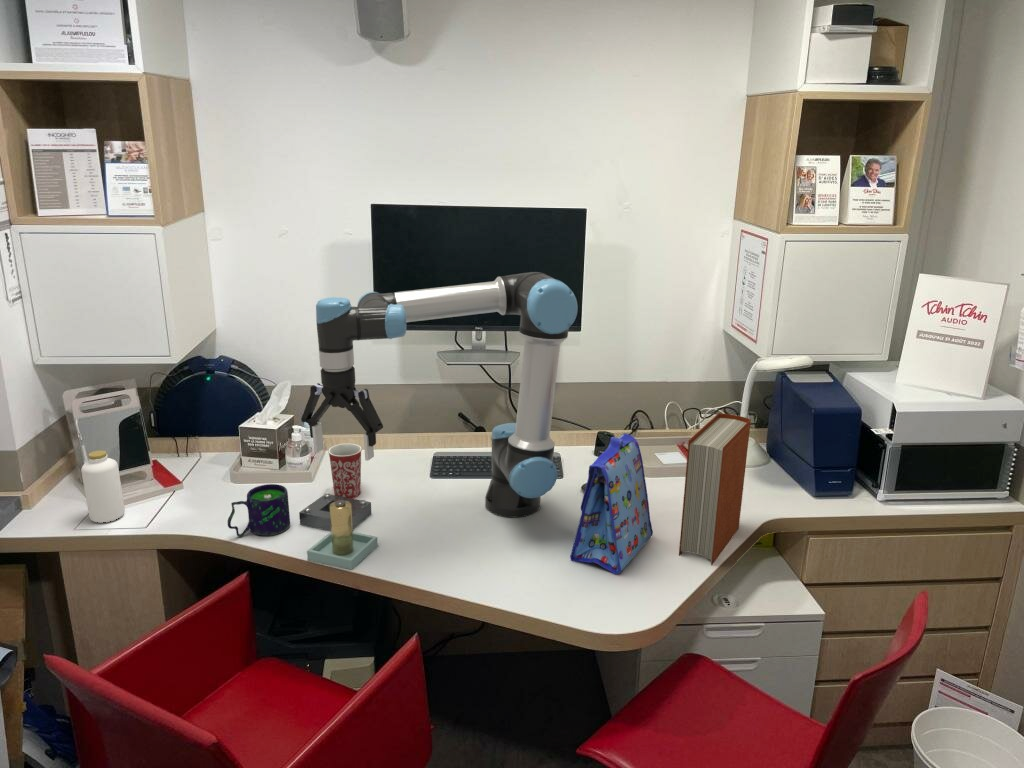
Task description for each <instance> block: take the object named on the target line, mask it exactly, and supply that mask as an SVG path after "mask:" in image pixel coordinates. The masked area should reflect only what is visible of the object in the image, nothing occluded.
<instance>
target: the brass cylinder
mask: <svg viewBox="0 0 1024 768" xmlns="http://www.w3.org/2000/svg"><path fill="white" fill-rule="evenodd" d="M330 521H331V531H330V532H331V537H332V552H333V554H335V555H339V556H343V555H348V554H350V553H352V552H353V550H354V549H353V532H354V531H353V530H354V529H352V509H351V503H350V502H348V501H344V500H338V501H335V502H333V503H331V504H330Z"/></svg>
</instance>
